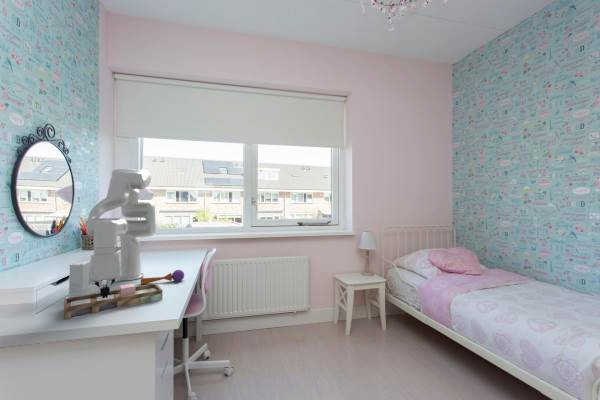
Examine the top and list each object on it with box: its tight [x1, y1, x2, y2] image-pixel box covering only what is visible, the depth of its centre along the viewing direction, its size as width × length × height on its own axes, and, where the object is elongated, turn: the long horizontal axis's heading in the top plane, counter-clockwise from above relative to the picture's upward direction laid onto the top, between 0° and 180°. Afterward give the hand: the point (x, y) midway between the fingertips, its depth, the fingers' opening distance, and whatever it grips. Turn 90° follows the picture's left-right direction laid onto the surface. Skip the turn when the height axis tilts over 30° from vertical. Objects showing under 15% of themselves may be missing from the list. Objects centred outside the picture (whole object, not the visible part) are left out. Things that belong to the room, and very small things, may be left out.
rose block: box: [119, 283, 137, 297], centre depth 114 cm, size 5×5×4 cm
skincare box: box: [68, 259, 97, 298], centre depth 121 cm, size 8×6×15 cm
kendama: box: [140, 269, 185, 286], centre depth 142 cm, size 6×6×20 cm
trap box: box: [63, 282, 163, 320], centre depth 112 cm, size 32×12×4 cm, turn 130°
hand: (104, 296), depth 109 cm, fingers closed
